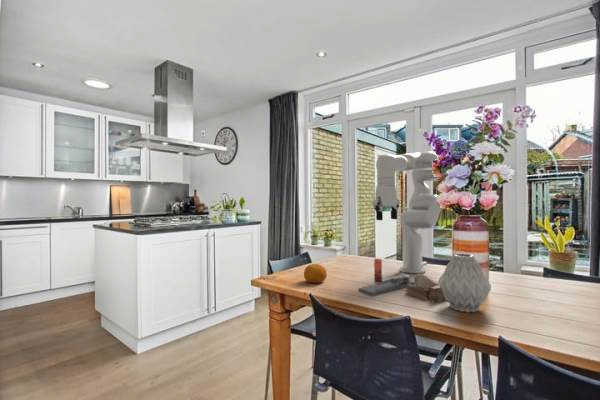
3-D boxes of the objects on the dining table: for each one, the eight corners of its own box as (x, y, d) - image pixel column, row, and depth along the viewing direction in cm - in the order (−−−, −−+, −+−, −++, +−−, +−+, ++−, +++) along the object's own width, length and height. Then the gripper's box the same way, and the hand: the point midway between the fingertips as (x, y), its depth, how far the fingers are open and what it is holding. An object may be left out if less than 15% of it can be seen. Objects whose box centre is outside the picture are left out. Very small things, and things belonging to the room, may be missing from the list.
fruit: (327, 285, 140) (327, 267, 140) (303, 285, 140) (303, 267, 140) (326, 278, 151) (325, 262, 151) (304, 279, 151) (303, 262, 151)
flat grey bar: (400, 280, 145) (400, 275, 145) (415, 284, 138) (415, 279, 138) (358, 291, 130) (358, 285, 130) (373, 295, 124) (373, 289, 124)
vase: (428, 303, 114) (428, 252, 114) (465, 298, 119) (464, 249, 119) (463, 320, 99) (462, 261, 99) (504, 314, 103) (503, 257, 103)
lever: (403, 277, 143) (403, 253, 143) (414, 279, 139) (414, 255, 139) (371, 284, 132) (371, 259, 132) (382, 288, 127) (382, 261, 127)
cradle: (426, 288, 133) (426, 276, 133) (454, 295, 123) (454, 283, 122) (406, 293, 126) (406, 281, 126) (435, 302, 115) (434, 288, 115)
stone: (436, 294, 128) (445, 278, 123) (434, 306, 123) (443, 290, 118) (411, 283, 132) (418, 266, 126) (407, 294, 127) (415, 278, 121)
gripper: (392, 182, 152) (392, 218, 152) (366, 182, 142) (367, 220, 143) (405, 182, 146) (405, 219, 146) (379, 181, 136) (380, 221, 136)
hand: (386, 219), depth 144 cm, fingers open, 9 cm apart
